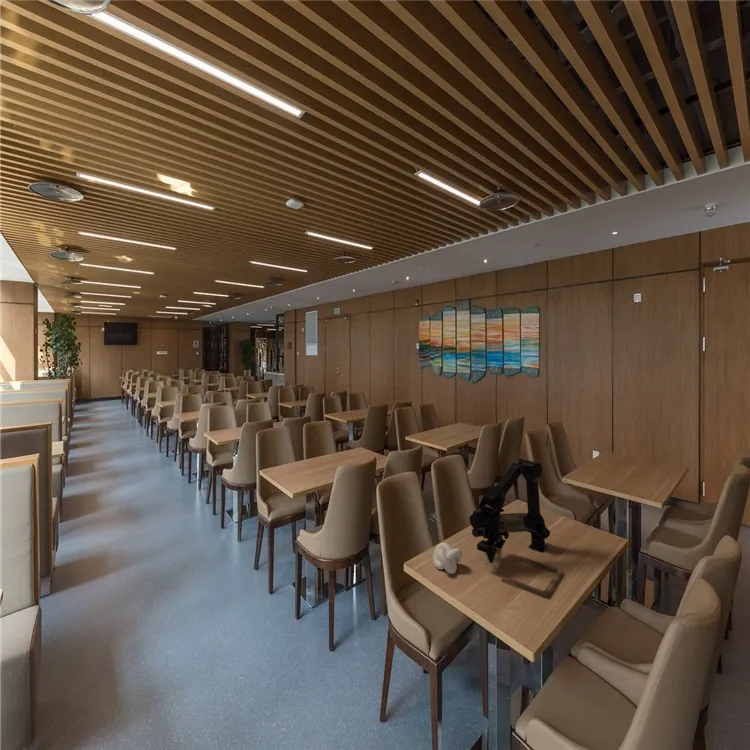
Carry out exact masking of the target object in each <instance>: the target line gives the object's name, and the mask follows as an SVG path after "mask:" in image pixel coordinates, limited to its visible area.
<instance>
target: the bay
mask: <svg viewBox="0 0 750 750" xmlns="http://www.w3.org/2000/svg"><path fill="white" fill-rule="evenodd" d="M518 558H519V559H518V561H519V562H521V563H524V564H527V565H530V566H533V567H536V568H539V569H542V570H545V571H548V572H551V573H554V575H553V576H552V577H551V578H552V579H550V582H548V584H547V586H546V588H545V589H544V590H543V589H540V588H538V587H534V586H532V585H529V584H526V583H524V582H520V581H519V580H515V579H513V578H510V577H508V576H505V575H503V576H502V577H501V582H502V583H505V584H507V585H510V586H512V587H515V588H518V589H520V590H524V591H525V592H528V593H531V594H534V595H536V596H539V597H541V598H544V599H546V600H547V599H549V598H550V595H551V594H552V592H553V591H554V589H555V587H557V585H558V582H559V581H560V579H561V577H562V575H563V574H564V571H563V569H561V568H558V567H556V566H552V565H549V564H546V563H542V562H540V561H536V560H534V559H531V558H528V557H524V556H519V557H518Z"/></svg>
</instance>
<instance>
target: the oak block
mask: <svg viewBox="0 0 750 750" xmlns="http://www.w3.org/2000/svg"><path fill="white" fill-rule="evenodd" d="M495 549H497V551H496V554H495V557H494V560H493V563H490V562H489V559H488V557H487V554H486V552H484V554H485V555H484V558H485V561H484V563H485V564H484V565H486V566H489V567H491V568H493V569H498V568H499V567H500V566H501V565H502V563H503V556H502V555H503V553H502V552H503V548H502V549H500V548H497V547H495Z"/></svg>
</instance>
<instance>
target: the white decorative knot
mask: <svg viewBox="0 0 750 750" xmlns="http://www.w3.org/2000/svg"><path fill="white" fill-rule="evenodd" d="M462 558H463V552H462V550H461V549H460V548H457V547H455V548H453V547H452V546H451V545H450V544H449V543H447V542H441V543H439V544H438V545H437V546H435V549H434V550H433V554H432V561H433V565H434V566H435V568H436V569H437V570H445V571H446V572H447V573H448V574H450V575H454V574H455V573H456V572H457V568H458V567H457V564H458V563H459V562H461V559H462Z"/></svg>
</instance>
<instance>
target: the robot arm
mask: <svg viewBox="0 0 750 750" xmlns="http://www.w3.org/2000/svg"><path fill="white" fill-rule="evenodd" d="M542 473H543V467H542V465H541V463H540V462H537V461H536V462H535V461H534V460H533V461H532V460H528V459H525V460H523V461H517V462H512V463H511V464H510V467H509V468H508V469H507V471H506V473H504V475H503V476H502V478H501V479H500V480H499V481H498V483H497V484H496V485H495V486H492V487H490V488H489V489H488V490H487V491H485V492H484V494H483V495H482V498H481V501H480V502H479V504H478V506H477V508H478V509H479V510H474V511H472V514H471V515H469V524H470V526H471V528H472V530H471V535H472V536H473V537H474V538H478V537H480V538H481V537H482V538H483V539H482V540H480V541H479V542H478V543H477V544H476V549H477V550H478V551H480V552H483V553H485V552H486V554H487V557H488V559H489V562H490V563H493V560H494V557H495V554H496V551H497V549H495V547H497V548H500V549H502V550H503V547H504V546H505V544H506V540H508V538H509V537H510V533H509V531H507V530H504V529H501V528H502V525H500V514H501V513H504V511H505V509H503V508H502V507H503V505H504V503H505V502H506V496H507V494H508V492H509V490H511V488H512V487H513V485H514V484H515V483H516V482H517V480H518V479H519V478H520V476H521V475H522V476H523V478H524V480H525V483H526V484H525V485H526V499H527V500H526V505H527V512H526V513H527V514H526V516H523V519H524V523H523V524H524V525H525V528H526V530H525V531H526V532H528V533H530V544H529V545H528V548H529V549H532V550H534V551H538V552H541V553H544V552H545V551H546V549H547V548H548V545H547V544H546V539H549V537H550V535H551V531H550V530H549V529H548V528H547V527H546V522H545V519H544V517H543V516H542V513H541V509H540V508H541V507H540V506H541V505H540V490H539V481H540V479H541V477H542V476H543V475H542ZM503 537H504V539H503ZM486 539H487V540H486Z"/></svg>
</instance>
